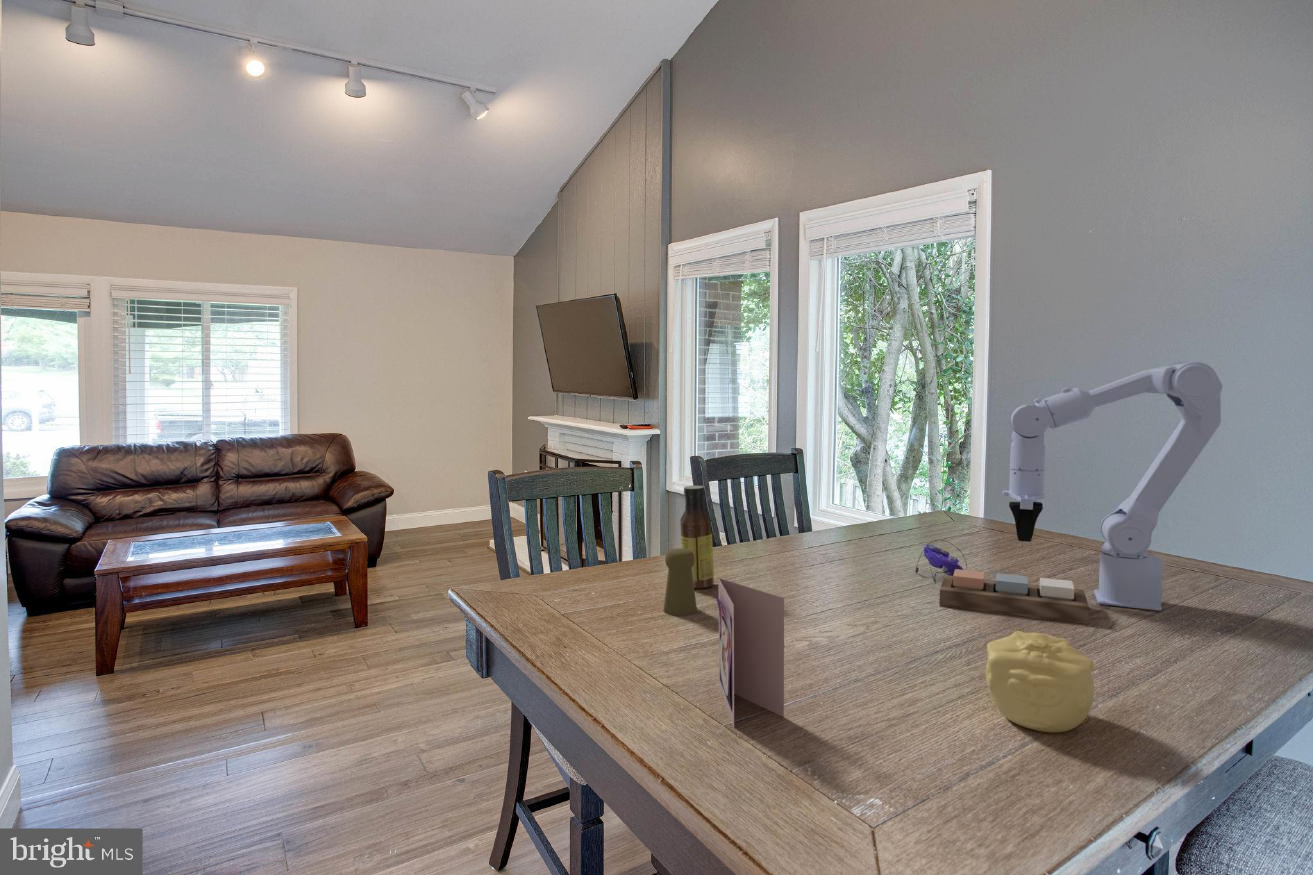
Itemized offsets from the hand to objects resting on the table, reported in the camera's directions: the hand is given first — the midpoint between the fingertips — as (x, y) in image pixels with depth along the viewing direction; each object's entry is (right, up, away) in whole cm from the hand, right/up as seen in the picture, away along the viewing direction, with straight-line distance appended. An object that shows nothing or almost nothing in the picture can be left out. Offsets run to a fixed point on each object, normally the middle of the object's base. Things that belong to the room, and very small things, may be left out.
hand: (1024, 540), depth 136 cm
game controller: (-12, -9, +12) cm, 19 cm away
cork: (-65, -12, -7) cm, 67 cm away
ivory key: (0, -9, -10) cm, 14 cm away
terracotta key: (-12, -9, -4) cm, 16 cm away
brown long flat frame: (-6, -11, -7) cm, 14 cm away
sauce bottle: (-61, -10, +8) cm, 63 cm away
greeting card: (-58, -15, -44) cm, 74 cm away
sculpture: (-23, -15, -49) cm, 56 cm away
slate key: (-6, -9, -7) cm, 13 cm away
